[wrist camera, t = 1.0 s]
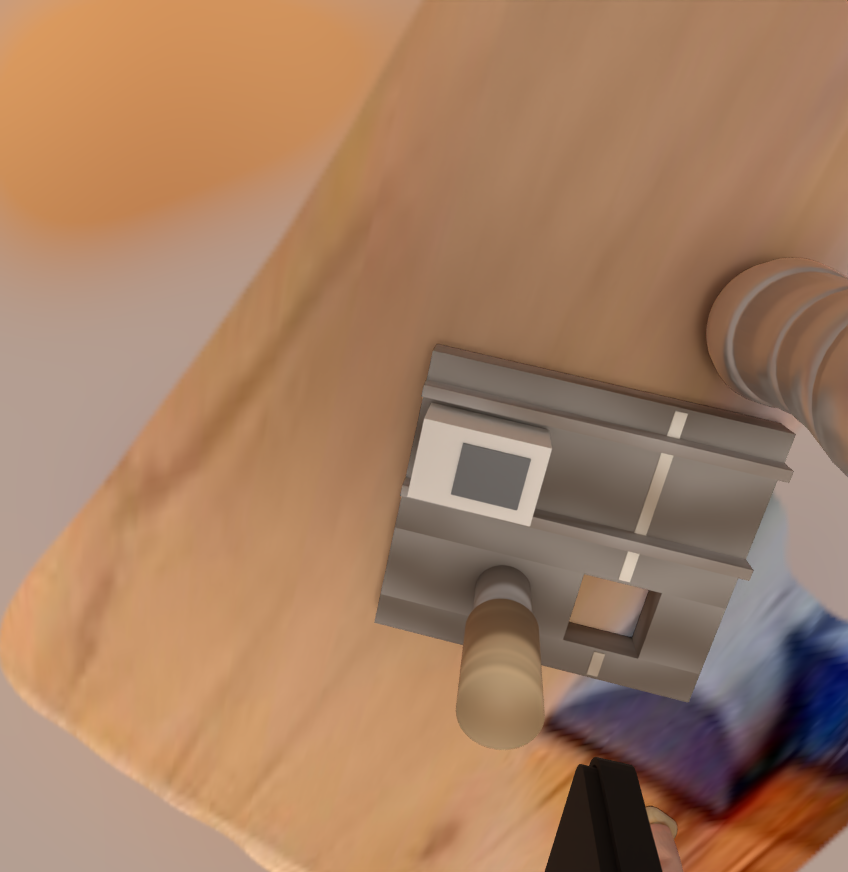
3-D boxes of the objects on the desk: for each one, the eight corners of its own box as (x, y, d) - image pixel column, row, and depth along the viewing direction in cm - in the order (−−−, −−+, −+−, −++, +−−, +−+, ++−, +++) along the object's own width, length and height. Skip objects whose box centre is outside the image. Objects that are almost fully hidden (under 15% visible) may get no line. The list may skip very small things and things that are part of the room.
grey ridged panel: (437, 343, 36) (430, 354, 33) (780, 423, 35) (805, 442, 32) (380, 604, 41) (370, 634, 38) (680, 679, 40) (693, 716, 37)
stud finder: (431, 402, 35) (423, 419, 32) (548, 429, 34) (552, 449, 31) (415, 474, 36) (406, 497, 33) (528, 502, 36) (529, 527, 33)
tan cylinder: (478, 553, 37) (466, 666, 28) (543, 569, 37) (554, 688, 28) (463, 609, 38) (447, 737, 29) (527, 625, 38) (531, 759, 29)
